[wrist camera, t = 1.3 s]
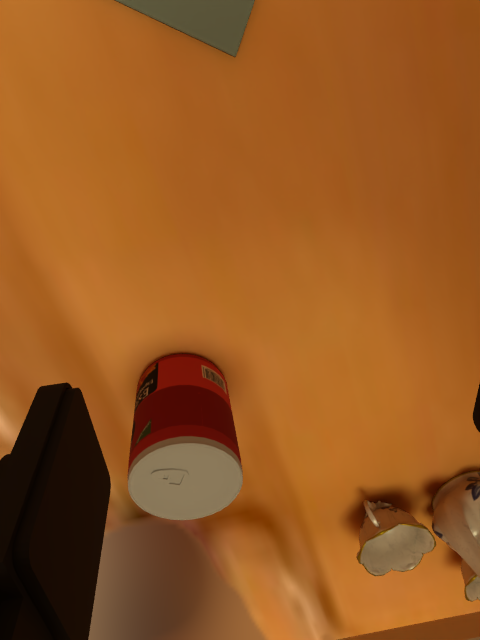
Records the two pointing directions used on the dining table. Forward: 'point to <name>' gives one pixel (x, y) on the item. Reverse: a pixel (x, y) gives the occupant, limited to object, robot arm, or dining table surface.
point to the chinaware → (426, 532)
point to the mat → (201, 19)
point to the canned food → (183, 440)
